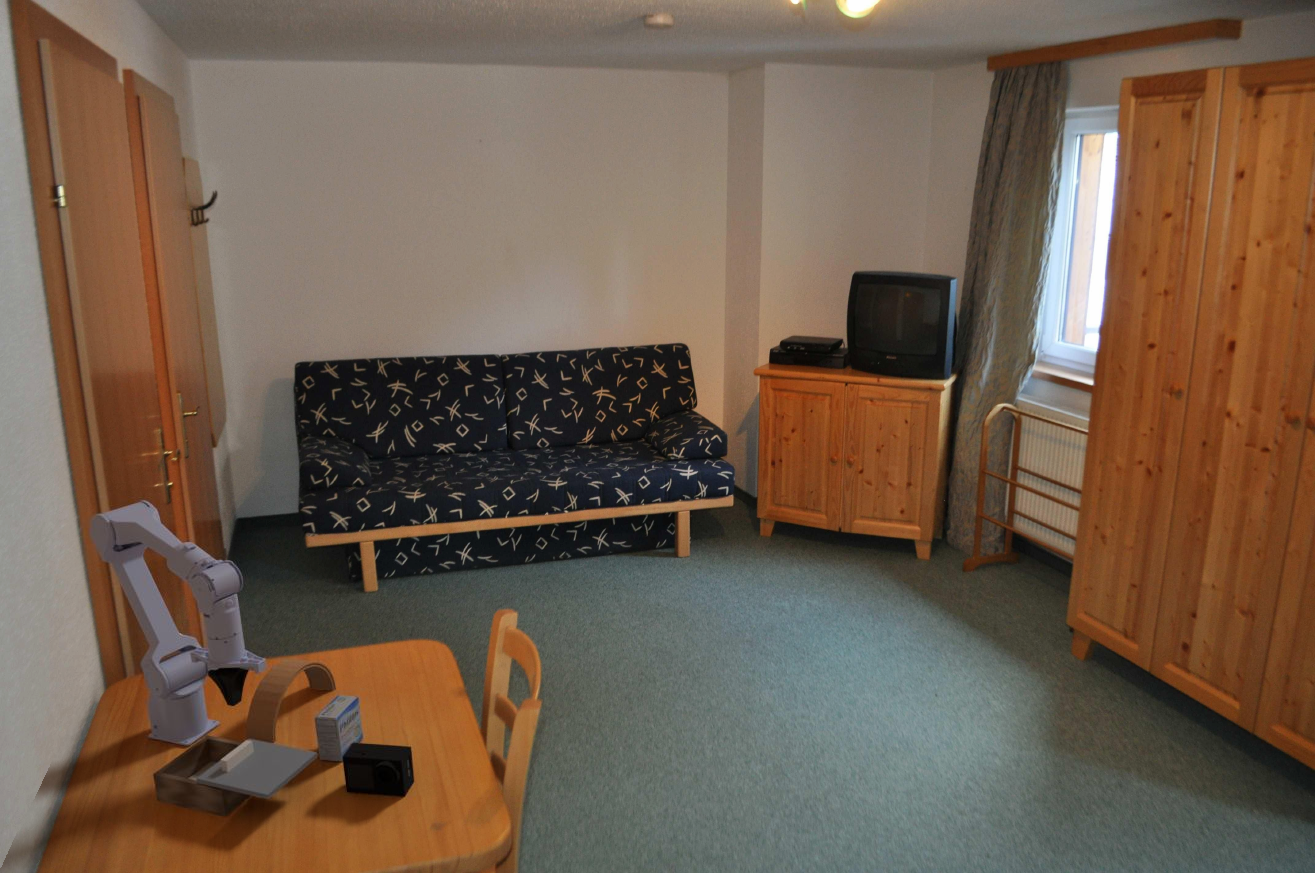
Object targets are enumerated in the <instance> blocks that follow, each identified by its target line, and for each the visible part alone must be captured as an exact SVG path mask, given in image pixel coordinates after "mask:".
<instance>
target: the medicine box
mask: <svg viewBox="0 0 1315 873" xmlns="http://www.w3.org/2000/svg"><path fill="white" fill-rule="evenodd" d="M361 715H362V714H361V706H360V698H359V697H358V696H352V695H345V694H344V695H343V694H338V695H336V696H335V697H334V698H333V699H332V700H331V701H330V702H329V703H328V704H327V705H326V706H325V707H324V708H323V709H322V710H321V711H320V712H319V713H318V714H317V715H316V716H314V723H315V732H316V740H317V747H318V755H319V760H321V761H329V762H330V761H331V762H341V763H343V755H344V754H345V752H346V751H347V750H348V749H349V747H350V746H351V745H352V743H361V741H362V740H363V739H364V733H363V732H364V731H363V725H362V716H361Z"/></svg>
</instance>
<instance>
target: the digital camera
mask: <svg viewBox="0 0 1315 873" xmlns="http://www.w3.org/2000/svg"><path fill="white" fill-rule="evenodd" d="M412 750H413V749H412V746H406V745H396V744H395V745H393V744H391V745H390V744H381V743H363V742H359V743H352V745H351V746H350V747H349V749H348V750H347V751H346V752H345V754H344V755H343V761H342V763H343V765H342V766H343V773H344V774H343V775H344V780H345V791H346V793H351V794H363V795H373V796H375V795H377V796H385V797H387V796H388V797H403V798H405V797H406V796H407V795H408V793H409V791H410V790H411V788H412V786H413V785H414V783H415V775H414V772H415V771H414V763H413V751H412Z"/></svg>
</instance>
